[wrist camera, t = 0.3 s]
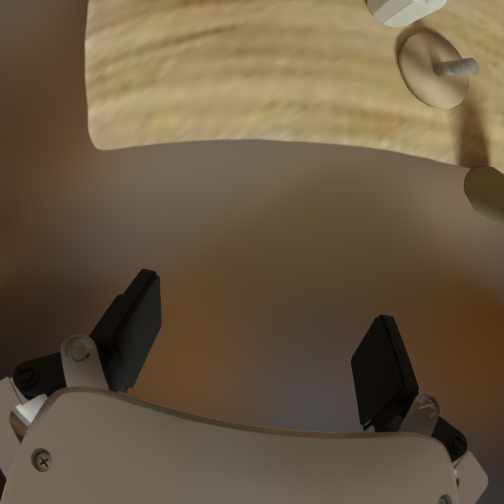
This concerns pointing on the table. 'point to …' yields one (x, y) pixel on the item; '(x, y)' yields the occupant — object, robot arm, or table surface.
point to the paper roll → (402, 10)
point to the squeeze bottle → (486, 192)
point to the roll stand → (435, 70)
